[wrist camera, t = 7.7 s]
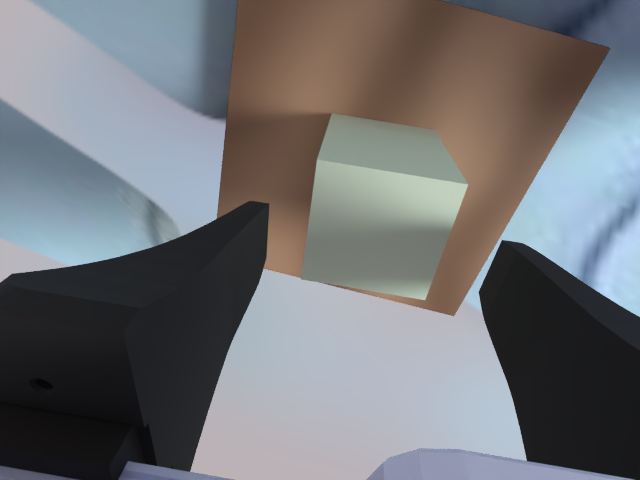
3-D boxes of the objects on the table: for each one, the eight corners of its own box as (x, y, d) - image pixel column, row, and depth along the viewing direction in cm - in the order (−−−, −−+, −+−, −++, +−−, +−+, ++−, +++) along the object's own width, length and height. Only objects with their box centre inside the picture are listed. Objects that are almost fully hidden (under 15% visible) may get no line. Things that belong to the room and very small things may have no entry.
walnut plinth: (583, 44, 16) (610, 48, 14) (447, 293, 23) (453, 316, 21) (256, -48, 15) (243, -56, 13) (224, 237, 22) (213, 255, 21)
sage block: (435, 129, 16) (468, 184, 11) (408, 220, 18) (425, 300, 13) (331, 113, 16) (317, 159, 11) (318, 205, 18) (301, 279, 13)
